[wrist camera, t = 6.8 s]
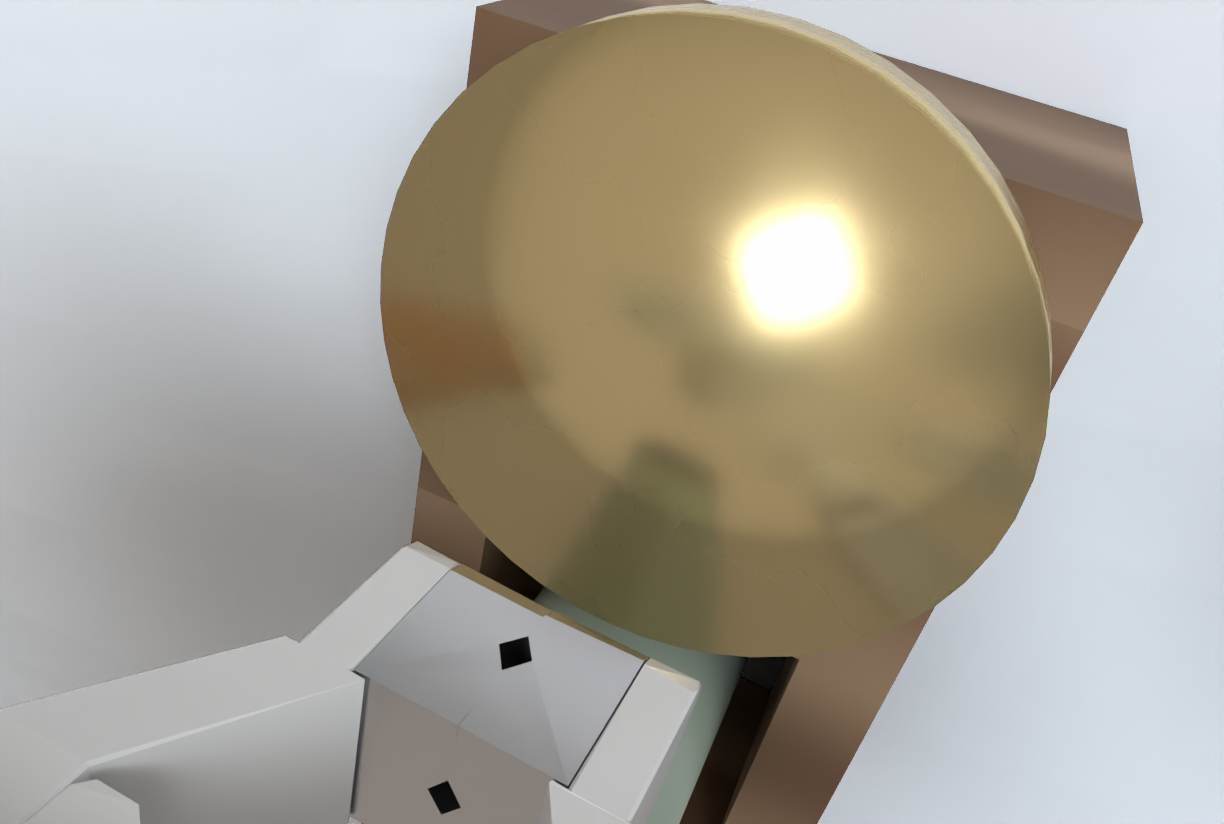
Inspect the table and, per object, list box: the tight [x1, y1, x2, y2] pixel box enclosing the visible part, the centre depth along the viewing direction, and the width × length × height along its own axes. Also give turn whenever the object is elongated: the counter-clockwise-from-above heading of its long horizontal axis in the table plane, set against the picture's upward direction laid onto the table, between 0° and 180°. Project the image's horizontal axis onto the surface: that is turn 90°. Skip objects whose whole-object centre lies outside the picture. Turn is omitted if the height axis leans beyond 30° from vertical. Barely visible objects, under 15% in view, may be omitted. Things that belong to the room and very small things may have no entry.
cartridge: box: [362, 586, 748, 824], centre depth 19 cm, size 5×5×10 cm
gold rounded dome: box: [380, 3, 1052, 657], centre depth 15 cm, size 9×9×6 cm
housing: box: [411, 0, 1143, 824], centre depth 19 cm, size 16×9×5 cm, turn 167°
